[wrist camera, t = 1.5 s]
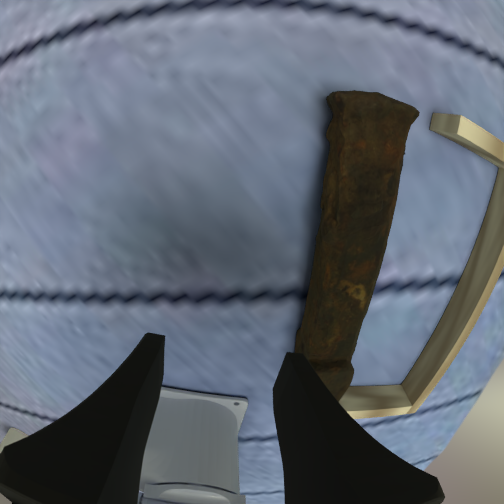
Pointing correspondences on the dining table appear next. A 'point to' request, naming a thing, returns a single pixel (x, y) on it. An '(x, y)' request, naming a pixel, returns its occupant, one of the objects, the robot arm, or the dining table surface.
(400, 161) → the hand tool
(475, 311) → the beige bent bracket
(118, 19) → the dining table surface
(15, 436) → the cream cylinder
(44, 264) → the dining table surface
